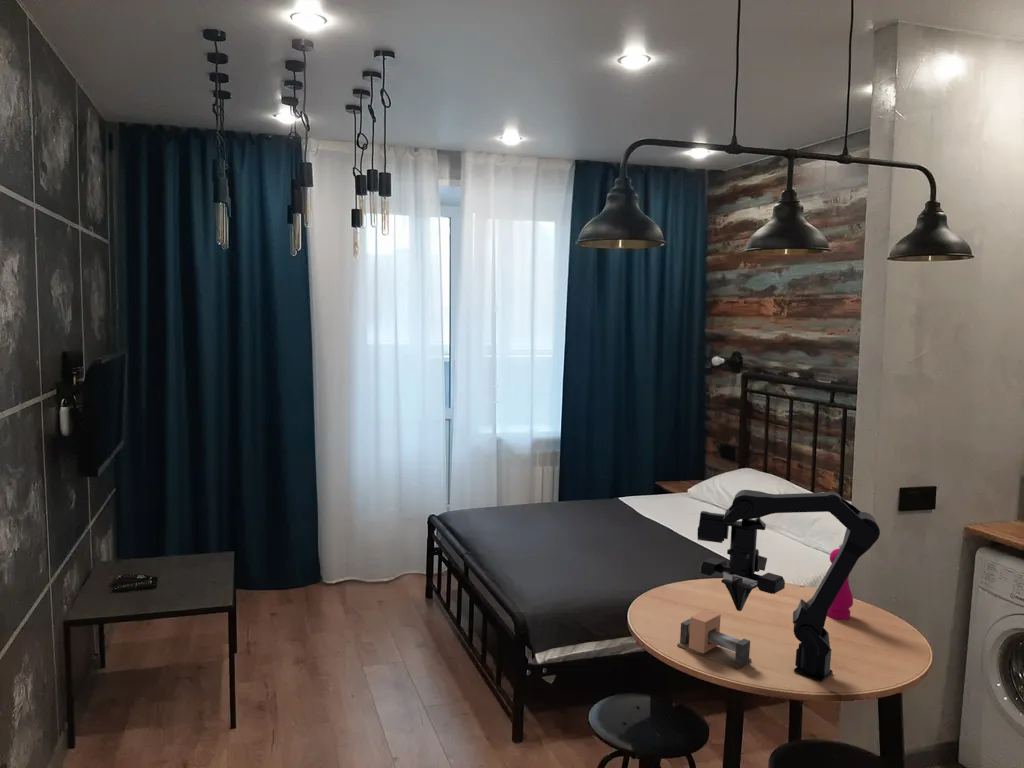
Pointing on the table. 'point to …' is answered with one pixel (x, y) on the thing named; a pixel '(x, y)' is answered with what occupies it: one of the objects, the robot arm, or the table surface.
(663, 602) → the table surface
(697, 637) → the collar
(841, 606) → the pepper mill
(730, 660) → the rail
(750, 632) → the table surface
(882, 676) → the table surface
